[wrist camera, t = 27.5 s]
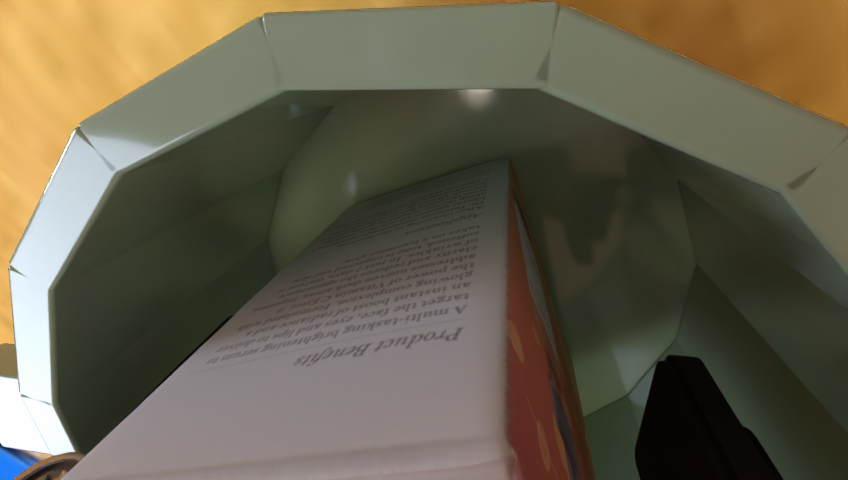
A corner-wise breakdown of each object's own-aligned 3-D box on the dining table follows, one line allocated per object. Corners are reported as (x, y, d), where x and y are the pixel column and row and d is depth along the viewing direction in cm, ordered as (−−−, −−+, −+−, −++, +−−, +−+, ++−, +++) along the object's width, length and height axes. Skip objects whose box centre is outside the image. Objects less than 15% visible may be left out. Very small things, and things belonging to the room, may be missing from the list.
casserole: (140, 43, 14) (-317, 36, 6) (913, 20, 10) (2130, -65, 3) (236, 410, 20) (71, 631, 12) (734, 475, 16) (927, 841, 9)
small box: (573, 363, 15) (683, 888, 6) (427, 387, 17) (323, 824, 7) (512, 148, 13) (526, 458, 3) (345, 200, 14) (17, 509, 5)
